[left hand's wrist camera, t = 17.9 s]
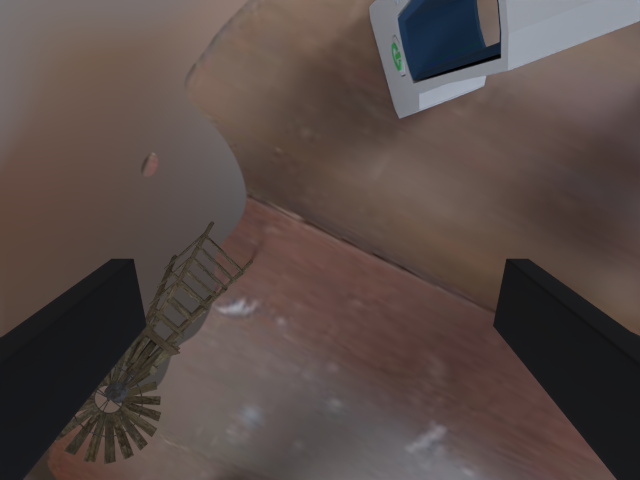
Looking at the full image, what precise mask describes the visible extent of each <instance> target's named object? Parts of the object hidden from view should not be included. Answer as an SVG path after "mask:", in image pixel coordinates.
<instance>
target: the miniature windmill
mask: <svg viewBox="0 0 640 480" xmlns="http://www.w3.org/2000/svg"><path fill="white" fill-rule="evenodd" d="M213 224H214V223H213V222H211V223H210V224H209V226H208V227H207V229H206V231H205V232H204V234H202V235H201V236H200V237H199V238H198V239H197V240H196V241H195V242H193V243H192V244H191V245H190V246H189V247H188V248H187V249H186V250H185V251H183V252H182V253H181V254H180V255H179V256H178V257H177V256H176V255H174V256H173V257H172V259H171V261H170V263H169V265H168V266H167V267H166V268H165V270H166V269H167V270H166V273H165V275H164V277H163V279H162V282H161V283H160V284H159V285H158V288H159V289H158V291H157V293H156V295H155V298H154V300H153V301H152V302H151V303H150V304H149V307H150V309H149V312H148V314H147V316H146V318H145V320H146V325H147V326H146V327H145V329H144V330H143V331H142V332H141V334H140V335H139V336H138V337H137V339H136V340H135V341H134V342H133V344H132V345H131V346H130V347H129V349H128V350H127V351H126V352H125V353H124V355H123V356H122V357H121V358H120V360H119V361H118V362H117V364H116V367H115V371H114V374H113V378H112V381H111V371H110V372H109V373H108V375H107V376H106V382H105V379H104V380H103V381H102V382H101V384H100V385H99V386H98V387H97V388H96V390H95V391H94V392H93V393H92V395H91V396H90V397H89V398H88V399H87V401H90V402H86V403H84V404H83V406H82V407H81V408H80V409H79V411H82V410H85V409H88V408H90V409H88V410H86V411H85V412H83V413H82V414H80V415H79V416H77V417H75V416H74V417H75V418H74V419H72V420H71V421H70V422H69V423H68V424H67V426H66V427H65V428H64V429H63V431H62V432H61V433H60V434H59V436H58V437H57V438H56V439H55V440H56V441H58V440H60V439H61V438H62V437H64V436H65V435H66V434H68V433H69V432H70V431H72V430H73V429H74V428H75V427H77V426H78V425H79V424H80V425H81V423H82V422H83V421H85V420H86V419H87V418H89V417H90V416H91V415H92V417H91V418H90V419H89V420H88V422H87V423H86V424H85V425H84V427H83V426H82V425H81V426H82V427H83V428H82V429H81V430H80V432H79V433H78V434H77V435H76V437H75V438H74V439H73V440H72V442H71V443H70V444H69V446H68V447H67V448H66V449H65V451H66V452H68V453H70V454H73V455H75V454H76V452H77V451H78V449H79V448H80V446H81V445H82V443H83V442H84V440H85V439H86V437H87V436H88V434H89V433H92V434H93V436H92V439H91V442H90V445H89V447H88V450H87V453H86V456H85V459H84V461H87V462H95V460H96V456H97V453H98V449H99V445H100V441H101V438H102V434H103V430H104V426H105V436H103V437H105V461H104V464H108V463H112V462H116V460H115V444H114V436H117V439H118V442H119V445H120V449H121V452H122V455H123V458H124V460H125V459H127V458H129V457H131V456H133V455H134V454H133V452H132V449H131V447H130V444H129V441H128V439H127V436H126V434H125V432H126V431H127V432H128V433H129V435H130V436H131V438H132V439H133V441H134V442H135V444H136V445H137V447H138V448H139V450H141V449H142V448H143V447H144V446H146V445H147V444H148V443H147V442H146V440H145V439H144V438H143V437H142V435H141V434H140V433H139V432H138V430H137V429H136V428H135V427H134V425H135V424H136V425H137V426H138V427H140V428H141V429H142V430H143V431H145V432H146V433H147V434H149V435H150V436H151V437H152V436H153V434H154V433H155V431H156V430H157V428H155V427H154V426H152V425H151V424H149V423H148V422H146V421H145V420H144V419H142V418H141V417H140V415H143V416H146V417H148V418H151V419H153V420H156V421H159V418H160V415H161V412H157V411H154V410H151V409H148V408H145V407H142V406H139V405H135V404H151V405H160V398H161V397H157V396H142V394H141V393H145V392H148V391H152V390H156V389H157V385H156V382H152V383H149V384H146V385H143V386H140V387H139V386H138V384H137V383H139V382H140V381H142V380H143V379H145V378H146V377H148V376H149V375H150V373H151V374H153V375H155V373H156V371H157V367H158V366H159V365H160V364H162V363H163V362H164V361H165V360H166V359H168V358H169V357H170V356H172V355H176V354H179V353H180V352H179V351H178V350H179V349H180V348H179V347H178V346H176V345H174V344H175V343H176V340H177V339H178V338H179V337H181V338H184V332H183V331H184V330H185V329H186V328H187V327H188V326H189V325H190V324H191V323H193V322H194V321H195V320H196V319H197V318H199V317H200V316H201V315H202V314H204V313H205V312H206V311H207V310H208V308H209V307H208V306H209V305H210V304H211V303H213V302H214V301H215V300H216V299H218V298H219V297H220V296H221V295H222V294H224V293H225V291H226V290H227V289H228V287H229V286H230V285H231V284H232V283H233V282H234V283H236V279H238V278H239V277H240V276H241V275H243V274H244V273H245V270H246V269H247V268H248V267H249V266H250V265H251V264H252V263H253V261H252V260H251V261H250V262H249V263H248V264H247V265H246V266H244V267H243V268H242V269H241V268H240V267H239V266H238V265H237V264H236V263H235V262H234V261H233V260H232V259H231V258H230V257H229V256H228V255H227V254H226V253H225V252H224V251H223V250H222V249H221V248H220V247H218V246H217V245H216V244H215V243H214V242H213V241H212V240H211V239H210V238H209V237H208V236H207V235H208V233H209V231H210V230H211V228H212V226H213ZM205 239H207V240H208V241H209V242H210V243H211V244H212V245H213V246H214V247H215V248H216V249H217V250H218V251H219V252H220V253H221V254H222V255H223V256H224V257H225V258H226V259H228V260H229V261H230V262H231V263H232V264H233V265H234V266H235V267H236V268H237V269H238V270H239V272H238V273H237V274H236V275H235V276H234V277H232V276H231V275H230V274H229V273H228V272H227V271H226V270H225V269H224V268H223V267H222V266H221V265H220V264H219V263H218V262H216V261H215V260H214V259H213V258H212V257H211V256H210V255H209V254H208V253H207V252H206V251H205V250H204V249H203V248H202V247H201V246H202V244H203V242H204V240H205ZM199 240H200V241H199ZM197 241H199V243H198V244H197V245H196V248H195V250H194V251H193V253H192V255H191V256H190V258H188V259H187V260H186V261H185V262H184V263H183V264H182V265H180V266H179V267H178V268H177V269H176V270H175V271H174V272H172V271H171V270H172V268H173V265H174V263H175V261H176V260H177V259H178V258H180V257H181V256H182V255H183V254H184V253H185V252H186V251H187V250H188V249H190V248H191V247H192V246H193V245H194V244H195V243H196V242H197ZM199 250H200V251H201V252H203V254H205V255H206V256H207V257H208V258H209V259H210V260H211V261H212V262H213V263H214V264H215V265H216V266H217V267H218V268H219V269H220V270H221V271H222V272H223V273H224V274H225V275H226V276H228V277H229V278H230V279H231V280H230V281H229V282H228V283H227V284H226V285H224V284H223V283H222V282H220V281H219V280H218V279H217V278H216V277H215V276H214V275H213V274H212V273H211V272H210V271H209V270H207V269H206V268H205V267H204V266H203V265H202V264H201V263H200V262H199V261H198V260H197V259H196V258H195V256H196V254H197V253H198V251H199ZM192 261H194V262H195V263H196V264H197V265H198V266H199V267H200V268H201V269H202V270H203V271H205V272H206V273H207V274H208V275H209V276H210V277H211V278H212V279H213V280H214V281H215V282H217V283H218V284H219V285H220V286H221V287H222V289H221V290H220V291H219V292H218V293H217V294H216V292H215V291H214V292H213V291H212V290H210V289H209V288H208V287H207V286H206V285H205V284H204V283H203V282H202V281H200V280H199V279H198V278H197V277H196V276H195V275H194V274H193V273H192V272H191V271H189V270H188V268H189V267H190V265H191V263H192ZM185 264H186V265H185ZM184 265H185V267H184V268H183V270H182V272H181V274H180V275H179V277H178V276H177V275H176V274H175V273H176V272H177V271H178V270H179V269H180V268H182V267H183V266H184ZM170 273H171V274H170ZM186 273H187V274H188V275H189V276H191V277H192V278H193V279H194V280H195V281H196V282H197V283H198V284H199V285H201V286H202V287H203V288H204V289H205V290H206V291H207V292H208V293H209V294H210V295H209V296H208V297H207V298H206V300H205V301H204V300H203V299H202V298H201V297H200V296H199V295H198V294H197V293H195V292H194V291H193V290H192V289H191V288H190V287H189V286H188V285H187V284H186V283H185V282H183V281H182V279H183V277H184V275H185V274H186ZM171 276H174V277H175V278H176V279H177V280H176V282H174V283H173V284H172V285H171V286H170V287H168V288H167V289H166V290H165V289H164V287H165V285H166V282H167V280H168V279H169V278H170V277H171ZM178 286H179V287H180V288H181V289H183V290H184V291H185V292H186V293H187V294H188V295H189V296H191V297H192V298H193V299H194V300H195V301H196V302H198V303H199V304H200V306H199V307H198V308H197V309H196V310H195V311H194V312H193V313H191V312H189V311H188V310H187V309H186V308H185V307H184V306H183V305H182V304H180V303H179V302H178V301H177V300H176V299H175V298H174V297H173V295H174V293H175V291H176V290H177V288H178ZM171 288H172V289H171ZM170 289H171V291H170V293H168V291H169V290H170ZM224 290H225V291H224ZM162 292H163V293H162ZM164 294H166V295H167V298H166V299H165V301H164V303H163V305H162V306H161V308H160V310H158V309H157V308H156V306H157V304H158V301H159V299H160V298H161V297H162V296H163V295H164ZM173 301H174V302H173ZM168 304H170V305H171V306H172V307H174V308H175V309H176V310H177V311H178V312H179V313H180V314H182V315H183V316H184V317H185V318H186V320H185V321H184V322H183V323H182V324H181V325H180V326H179V327H177V326H176V325H175V324H174V323H173V322H172V321H170V320H169V319H168V318H167V317H166V316H165V315H163V313H164V311H165V309H166V307H167V305H168ZM181 308H182V309H181ZM154 312H156V313H155V314H153V313H154ZM155 316H156V317H155ZM154 317H155V318H154ZM153 318H154V320H153V322H152V323H151V324H150V321H151V320H152V319H153ZM159 320H161V321H162V322H163V323H164V324H165V325H167V326H168V327H169V328H170V329H171V330H173V331H174V332H173V333H172V334H171V335H170V336H169V337H168V338H167V339H166V340H164V339H163V338H162V337H161V336H160V335H158V334H157V333H156V332H155V331H154V328H155V327H156V325H157V323H158V321H159ZM149 338H150V339H151V340H150V341H149V343H148V344H147V345H146V347H145V348H144V346H145V344H146V342H147V341H148V339H149ZM156 345H158V346H159V348H158V349H157V350H156V351H155V352H154V353H153V354H152V355H151V356H149V355H150V353H151V352H152V350H153V349H154V348H155V346H156ZM143 348H144V349H143ZM142 350H143V351H142ZM124 362H125V363H126V366H127V367H128V368H127V369H126V371H124V370H122V369H121V368H122V366H123V363H124ZM121 370H122V371H124V374H123V375H122V377H121V378H120V380H119V381H118V382H117V380H118V378H119V374H120V371H121ZM134 374H135V375H134ZM131 375H134V376H133V377H131ZM130 377H131V380H130V381H128V380H129V378H130ZM127 381H128V382H127ZM126 382H127V383H126ZM136 384H137V386H138V387H136V388H133V389H130V388H131V387H132V386H134V385H136ZM108 385H109V386H108ZM103 386H108V387H107V388H106V390H105V392H104V393H105V394H106V395H105V394H104V393H103V392H102V391H100V390H99V388H100V387H103ZM128 389H130V390H128ZM97 390H99V391H100V392H101V393H103V394H104V395H103V394H101V393H99V392H97ZM96 392H97V393H99V394H101V395H103V396H105V397H107V401H108V402H109V401H110V400H111V401H113V402H114V403H115V402H117V403H122V405H121V407H120V406H119V405H118V404H117V403H115V404H117V405H118V406H119V407H120V408H119V410H118V411H116V412H113V413H106V412H103V411H104V410H103V411H101V410H100V408H101V407H102V406H103V405H104V404H105V403H106V402H107V401H106V402H105V403H104V404H103V405H102V406H101V407H100V408H98V407H97V405H96V403H95V394H96ZM137 394H141V396H133V395H137ZM108 402H107V404H108ZM132 403H134V404H132ZM107 404H106V405H107ZM105 407H106V406H105ZM104 409H105V408H104ZM99 410H100V411H99ZM79 411H78V412H79ZM132 411H133V412H135V413H138V414H140V415H139V416H138V415H136V414H135V413H133V412H132ZM129 419H130V420H131V421H132V422H133V423H135V424H134V425H133V424H132V423H131V422H130V420H129ZM97 421H98V422H97ZM96 422H97V425H96V428H95V431H94V433H93V432H91V430H92V428H93V427H94V425H95V424H96ZM113 425H114V428H113ZM122 425H123V426H124V428H125V429H126V431H124V429H123V426H122ZM114 429H115V432H116V435H114Z"/></svg>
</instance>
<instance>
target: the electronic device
mask: <svg viewBox="0 0 640 480" xmlns="http://www.w3.org/2000/svg"><path fill="white" fill-rule="evenodd" d="M497 2H498V13H499V25H500V42H499V43H496V44H494V45H491V46H488V47H486V45H485V43H484V39H483V36H482V32H481V28H480V22H479V17H478V9H477V0H375V1H374V2H373V3H372V4H371V5H370V7H369V11H370V20H371V24H372V28H373V31H374V35H375V39H376V42H377V46H378V50H379V53H380V57H381V61H382V64H383V68H384V72H385V75H386V79H387V83H388V86H389V90H390V93H391V97H392V101H393V104H394V108H395V111H396V113H397V115H398V117H399V119H400V118H403V117H406V116H408V115H411V114H414V113H416V112H419V111H422V110H424V109H427V108H430V107H432V106H435V105H438V104H440V103H443V102H446V101H448V100H451V99H453V98H456V97H459V96H461V95H464V94H466V93H468V92H471V91H473V90H476V89H478V88H481V87H483V86H484V84H485V78H486V75H490V74H495V73H500V72H505V71H509V70H511V69H514V68H517V67H519V66H522V65H525V64H527V63H530V62H532V61H535V60H538V59H540V58H543V57H546V56H548V55H551V54H554V53H556V52H559V51H562V50H564V49H567V48H569V47H572V46H575V45H577V44H580V43H583V42H585V41H588V40H591V39H593V38H596V37H599V36H601V35H604V34H607V33H609V32H612V31H614V30H617V29H620V28H622V27H625V26H628V25H630V24H633V23H636V22H638V21H640V0H497Z"/></svg>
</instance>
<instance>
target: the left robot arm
mask: <svg viewBox="0 0 640 480" xmlns="http://www.w3.org/2000/svg"><path fill="white" fill-rule="evenodd" d="M146 326H147V325H146V320H145V315H144V309H143V305H142V299H141V294H140V289H139V284H138V279H137V274H136V269H135V264H134V259H111V260H109V261H108V262H107V263H105V264H104V265H102V266H101V267H100V268H98V269H97V270H95V271H94V272H93V273H91V274H90V275H88V276H87V277H86V278H84V279H83V280H81V281H80V282H79V283H77V284H76V285H74V286H73V287H71V288H70V289H69V290H67V291H66V292H65V293H63V294H62V295H60V296H59V297H57V298H56V299H55V300H53V301H52V302H51V303H49V304H48V305H46V306H45V307H43V308H42V309H41V310H39V311H38V312H36V313H35V314H34V315H32V316H31V317H29V318H28V319H27V320H25V321H24V322H22V323H21V324H20V325H18V326H17V327H15V328H14V329H13V330H11V331H10V332H8V333H7V334H6V335H4V336H2V337H0V480H23V479H24V478H25V476H26V475H27V474H28V473H29V472H30V470H31V469H32V468H33V467H34V465H35V464H36V463H37V462H38V460H39V459H40V458H41V457H42V455H43V454H44V453H45V452H46V450H47V449H48V448H49V447H50V445H51V444H52V443H53V442H54V440H55V439H56V438H57V437H58V436H59V434H60V433H61V432H62V431H63V429H64V428H65V427H66V426H67V424H68V423H69V422H70V421H71V419H72V418H73V417H74V416H75V414H76V413H77V412H78V411H79V409H80V408H81V407H82V406H83V404H84V403H85V402H86V401H87V399H88V398H89V397H90V396H91V395H92V393H93V392H94V391H95V390H96V388H97V387H98V386H99V385H100V383H101V382H102V381H103V380H104V378H105V377H106V376H107V375H108V373H109V372H110V371H111V370H112V368H113V367H114V366H115V365H116V363H117V362H118V361H119V360H120V358H121V357H122V356H123V355H124V353H125V352H126V351H127V350H128V349H129V347H130V346H131V345H132V344H133V342H134V341H135V340H136V339H137V337H138V336H139V335H140V334H141V332H142V331H143V330H144V329H145V327H146ZM493 326H494V327H495V329H496V330H497V331H498V332H499V334H500V335H501V336H502V337H503V339H504V340H505V341H506V342H507V344H508V345H509V346H510V347H511V349H512V350H513V351H514V352H515V353H516V355H517V356H518V357H519V358H520V360H521V361H522V362H523V363H524V365H525V366H526V367H527V368H528V370H529V371H530V372H531V373H532V375H533V376H534V377H535V378H536V380H537V381H538V382H539V383H540V385H541V386H542V387H543V388H544V390H545V391H546V392H547V393H548V395H549V396H550V397H551V398H552V399H553V401H554V402H555V403H556V404H557V406H558V407H559V408H560V409H561V411H562V412H563V413H564V414H565V416H566V417H567V418H568V419H569V421H570V422H571V423H572V424H573V426H574V427H575V428H576V429H577V431H578V432H579V433H580V434H581V436H582V437H583V438H584V439H585V440H586V442H587V443H588V444H589V445H590V447H591V448H592V449H593V450H594V452H595V453H596V454H597V455H598V457H599V458H600V459H601V460H602V462H603V463H604V464H605V465H606V467H607V468H608V469H609V470H610V472H611V473H612V474H613V475H614V477H615V478H616V479H617V480H640V336H639V335H637V334H635V333H633V332H630V331H629V330H627V329H626V328H625V327H623V326H622V325H620V324H619V323H618V322H616V321H615V320H613V319H612V318H611V317H609V316H608V315H606V314H605V313H604V312H602V311H601V310H599V309H598V308H597V307H595V306H594V305H592V304H591V303H590V302H588V301H587V300H585V299H584V298H583V297H581V296H580V295H578V294H577V293H576V292H574V291H573V290H571V289H570V288H569V287H567V286H566V285H564V284H563V283H561V282H560V281H559V280H557V279H556V278H554V277H553V276H552V275H550V274H549V273H547V272H546V271H545V270H543V269H542V268H540V267H539V266H538V265H536V264H535V263H533V262H532V261H531V260H529V259H506V264H505V269H504V274H503V279H502V284H501V289H500V294H499V299H498V304H497V309H496V315H495V320H494V325H493Z"/></svg>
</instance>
